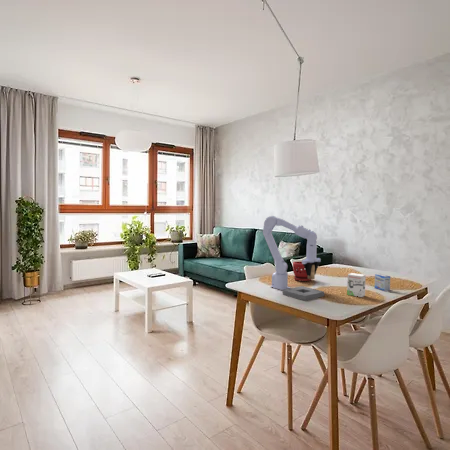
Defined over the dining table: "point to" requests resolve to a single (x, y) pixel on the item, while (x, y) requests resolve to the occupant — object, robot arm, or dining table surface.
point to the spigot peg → (312, 273)
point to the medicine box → (382, 282)
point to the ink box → (356, 284)
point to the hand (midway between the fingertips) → (311, 274)
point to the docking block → (303, 293)
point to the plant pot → (300, 272)
